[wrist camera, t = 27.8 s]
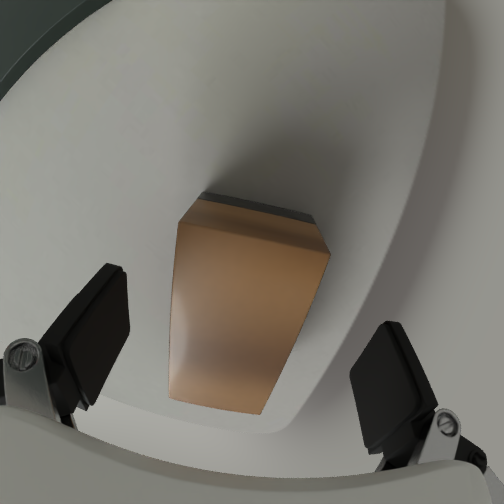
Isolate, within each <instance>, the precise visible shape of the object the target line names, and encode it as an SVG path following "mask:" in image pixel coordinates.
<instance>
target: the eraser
mask: <svg viewBox="0 0 504 504" xmlns="http://www.w3.org/2000/svg"><path fill="white" fill-rule="evenodd" d="M330 256H331V253H330V251H329V249H328V247H327V245H326V243H325V241H324V240H323V238H322V236H321V234H320V232H319V230H318V228H317V226H316V224H315V222H314V220H313V218H312V216H311V215H308V214H304V213H300V212H295V211H291V210H287V209H283V208H278V207H274V206H270V205H265V204H261V203H256V202H252V201H247V200H242V199H238V198H233V197H228V196H223V195H218V194H213V193H208V192H202V193H201V195H200V196H199V197H198V198H197V200H196V201H195V202H194V203H193V205H192V206H191V207H190V208H189V210H188V211H187V212H186V213H185V214H184V216H183V217H182V218H181V220H180V221H179V222H178V229H177V238H176V248H175V258H174V269H173V282H172V296H171V313H170V336H169V398H170V399H174V400H178V401H182V402H186V403H191V404H196V405H200V406H205V407H211V408H216V409H222V410H228V411H234V412H241V413H249V414H257V415H260V414H261V412H262V410H263V408H264V406H265V404H266V402H267V400H268V398H269V396H270V394H271V392H272V390H273V388H274V386H275V384H276V382H277V380H278V378H279V376H280V374H281V372H282V370H283V368H284V366H285V363H286V361H287V359H288V357H289V355H290V353H291V350H292V348H293V346H294V344H295V342H296V339H297V337H298V335H299V333H300V330H301V328H302V326H303V323H304V321H305V319H306V316H307V314H308V312H309V309H310V307H311V304H312V302H313V299H314V297H315V294H316V292H317V289H318V287H319V284H320V282H321V279H322V277H323V274H324V272H325V269H326V266H327V264H328V261H329V258H330Z"/></svg>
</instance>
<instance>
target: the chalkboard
mask: <svg viewBox="0 0 504 504" xmlns="http://www.w3.org/2000/svg"><path fill="white" fill-rule="evenodd" d="M110 1H112V0H0V100H1V99H2V98H3V96H4V95H5V94H6V93H7V92H8V90H9V89H10V88H11V87H12V86H13V85H14V83H15V82H16V81H17V80H18V79H19V78H20V77H21V76H22V74H23V73H24V72H25V71H26V70H27V69H28V68H29V67H30V66H31V65H32V64H33V63H34V62H35V61H36V60H37V59H38V58H39V57H40V56H41V55H42V54H43V53H44V52H45V51H46V50H47V49H49V48H50V47H51V46H52V45H53V44H54V43H55V42H56V41H58V40H59V39H60V38H61V37H62V36H63V35H65V34H66V33H67V32H68V31H69V30H71V29H72V28H73V27H75V26H76V25H77V24H78V23H80V22H81V21H82V20H84V19H85V18H86V17H88V16H89V15H91V14H92V13H93V12H95V11H96V10H98V9H99V8H101V7H102V6H104V5H105V4H107V3H108V2H110Z"/></svg>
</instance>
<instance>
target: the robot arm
mask: <svg viewBox="0 0 504 504" xmlns="http://www.w3.org/2000/svg"><path fill="white" fill-rule="evenodd" d="M129 332H130V321H129V309H128V293H127V274H126V272H123V269H122V267H121V266H117V265H113V264H109V263H106V264H105V265H104V266H103V267H102V268H101V269H100V270H99V271H98V272H97V273H96V274H95V276H94V277H93V278H92V279H91V280H90V281H89V282H88V283H87V284H86V286H85V287H84V288H83V289H82V290H81V291H80V293H78V294H77V295H76V296H75V297H74V298H73V299H72V300H71V302H70V303H69V304H68V305H67V306H66V308H65V309H64V310H63V311H62V312H61V314H60V315H59V316H58V317H57V319H56V320H55V321H54V322H53V324H52V325H51V326H50V328H49V329H48V330H47V331H46V333H45V334H44V335H43V337H42V338H41V339H40V341H39V342H38V343H37V342H35V341H34V340H32V339H28V338H21V339H18V340H15V341H13V342H12V343H10V344H9V346H8V347H7V348H6V350H5V352H4V356H3V359H0V504H504V485H503V484H502V482H501V481H500V480H499V479H498V477H497V476H496V475H495V474H494V472H493V471H492V470H491V469H490V467H489V466H488V467H487V458H486V454H485V453H484V452H483V450H481V449H480V448H479V447H478V446H476V445H474V444H473V443H472V442H470V441H469V440H467V439H466V438H464V437H463V436H461V435H460V433H461V424H460V421H459V419H458V417H457V416H456V415H455V414H454V413H453V412H452V411H451V410H448V409H439V410H438V411H437V412H435V411H434V409H435V408H436V407H437V406H438V402H437V400H436V398H435V395H434V393H433V390H432V388H431V386H430V384H429V381H428V379H427V377H426V375H425V373H424V370H423V368H422V366H421V364H420V361H419V359H418V357H417V355H416V353H415V351H414V349H413V347H412V345H411V343H410V341H409V339H408V337H407V335H406V333H405V331H404V329H403V327H402V325H401V324H400V323H399V322H393V321H385V322H384V323H383V324H381V325H380V326H379V327H378V329H377V330H376V332H375V334H374V335H373V337H372V338H371V340H370V342H369V343H368V345H367V346H366V348H365V349H364V351H363V352H362V354H361V355H360V357H359V358H358V360H357V361H356V363H355V364H354V366H353V367H352V368H351V370H350V381H351V385H352V389H353V394H354V397H355V402H356V407H357V411H358V416H359V421H360V426H361V431H362V436H363V440H364V445H365V447H366V448H368V453H369V455H370V454H378V453H381V452H383V455H384V457H383V458H382V460H381V462H380V464H379V466H378V467H377V469H376V470H375V472H374V473H367V474H359V475H351V476H340V477H325V478H268V477H255V476H243V475H235V474H227V473H220V472H213V471H208V470H202V469H197V468H192V467H187V466H182V465H178V464H174V463H169V462H166V461H162V460H158V459H155V458H151V457H148V456H145V455H141V454H138V453H135V452H132V451H129V450H126V449H123V448H120V447H118V446H115V445H112V444H109V443H107V442H104V441H101V440H99V439H96V438H94V437H91V436H89V435H87V434H84V433H82V432H80V431H78V429H77V426H76V423H75V420H74V417H73V414H72V413H74V411H75V409H76V407H78V408H80V409H83V410H85V411H87V409H88V407H89V405H91V406H92V405H94V403H95V402H96V400H97V398H98V396H99V394H100V391H101V389H102V387H103V385H104V383H105V381H106V379H107V377H108V375H109V373H110V371H111V369H112V367H113V365H114V363H115V361H116V359H117V357H118V355H119V353H120V351H121V349H122V347H123V345H124V343H125V342H126V340H127V338H128V336H129Z"/></svg>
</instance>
